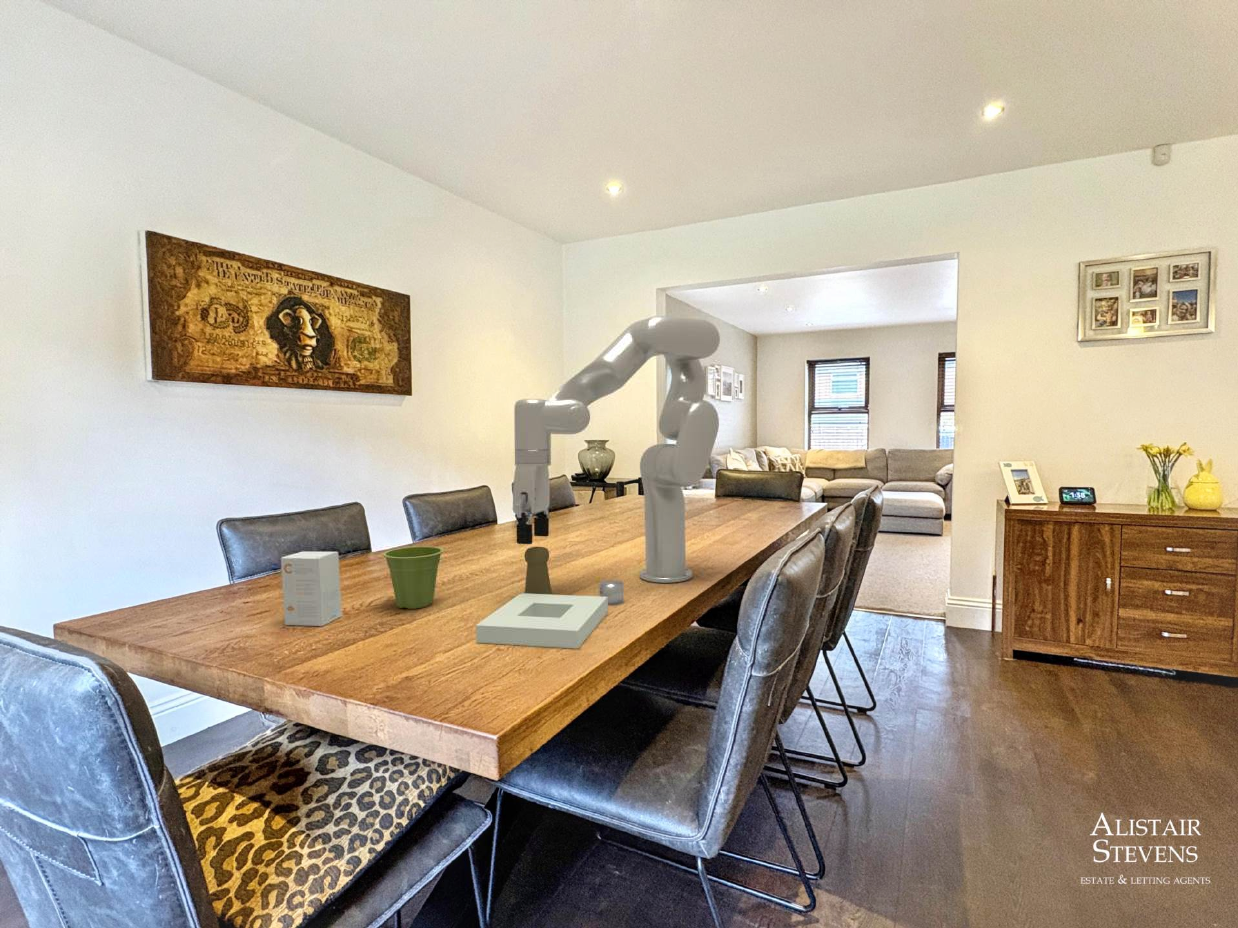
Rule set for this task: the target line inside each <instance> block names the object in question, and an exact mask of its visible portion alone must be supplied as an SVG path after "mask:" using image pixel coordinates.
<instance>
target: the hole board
mask: <svg viewBox="0 0 1238 928" xmlns="http://www.w3.org/2000/svg"><path fill="white" fill-rule="evenodd" d="M608 606H609V605H608V597H599V595H598V596H595V595H594V596H593V595H592V596H591V595H589V596H588V595H572V594H571V595H568V594H552V595H550V594H525V592H524V593H523V592H522V593H519V594H518V595H517V596H515V597H514V598H512V599H511V600H509V601H508V602H506V603H505V604H504V605H503V606H501V607H499V608H498V609H496V610H495V611H493V612H492V613H491V614H489V615H488V616H486V617H485V618H484V619H482V620H481V621H480V622H478V623H477V624H475V636H476V643H479V644H496V645H509V646H511V645H512V646H529V647H539V648H540V647H544V648H557V649H558V648H559V649H563V648H564V649H574V650H576V649H577V650H579V648H580V647H581V646H582V645H583V643H584V642H585V641H586V640H587V639H588V637H589V636H590V635H591V634H592V632H594V630H595V629H596V627H597V626H598V625H599V624H600V622H602V620H603V618H605V617H606V615H607V614H608V613H609V607H608Z"/></svg>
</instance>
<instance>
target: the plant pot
mask: <svg viewBox="0 0 1238 928" xmlns="http://www.w3.org/2000/svg"><path fill="white" fill-rule="evenodd" d="M442 553H444V549H443V547H438V546H430V545H429V546H428V545H422V546H420V545H419V546H417V545H415V546H405V547H399V548H394V549H390V550H387V551H384V552H383V553H382V555H383V557H384V558H385V560H386V563H387V564H386V565H387V567H388V568H389V572H390V578H391V579H390V580H391V583H392V587H393V594H394V597H395V602H396V606H397V607H398V608H400V609H403V608H407V609H410V610H415V609H423V608H425V607H428V606H429V605H432V604H433V603H434V598H435V591H436V585H437V583H436V582H437V575H438V570H439V569H438V568H439V564H440V560H441V556H442V555H441V554H442Z"/></svg>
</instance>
